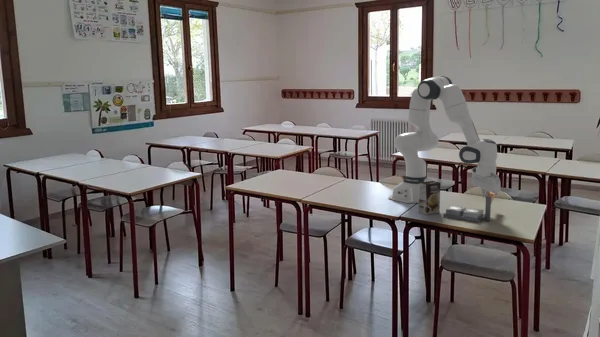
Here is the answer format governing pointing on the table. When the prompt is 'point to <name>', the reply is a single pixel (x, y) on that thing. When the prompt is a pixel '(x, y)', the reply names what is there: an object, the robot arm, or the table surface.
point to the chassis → (464, 213)
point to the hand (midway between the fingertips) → (485, 197)
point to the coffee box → (429, 197)
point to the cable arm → (489, 205)
